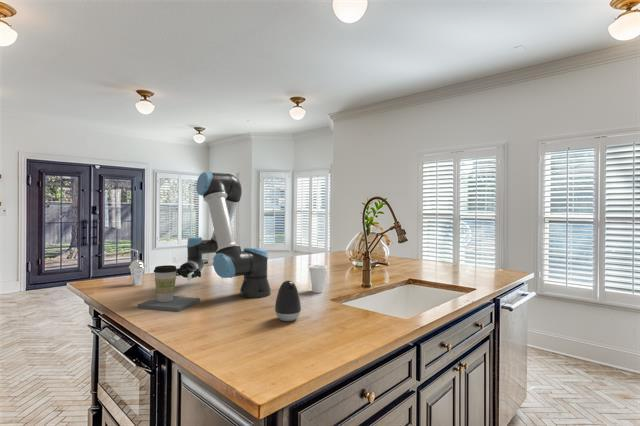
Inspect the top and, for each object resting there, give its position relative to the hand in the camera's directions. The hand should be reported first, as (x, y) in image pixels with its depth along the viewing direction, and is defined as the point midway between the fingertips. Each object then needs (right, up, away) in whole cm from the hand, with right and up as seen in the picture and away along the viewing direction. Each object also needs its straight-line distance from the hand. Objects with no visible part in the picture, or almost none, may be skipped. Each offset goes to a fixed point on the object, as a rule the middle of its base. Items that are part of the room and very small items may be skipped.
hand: (173, 277), depth 160 cm
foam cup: (+66, -11, +22) cm, 71 cm away
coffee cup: (-2, -10, -3) cm, 11 cm away
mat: (0, -11, -5) cm, 12 cm away
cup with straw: (-34, -10, +33) cm, 49 cm away
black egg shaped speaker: (+55, -12, -23) cm, 61 cm away
